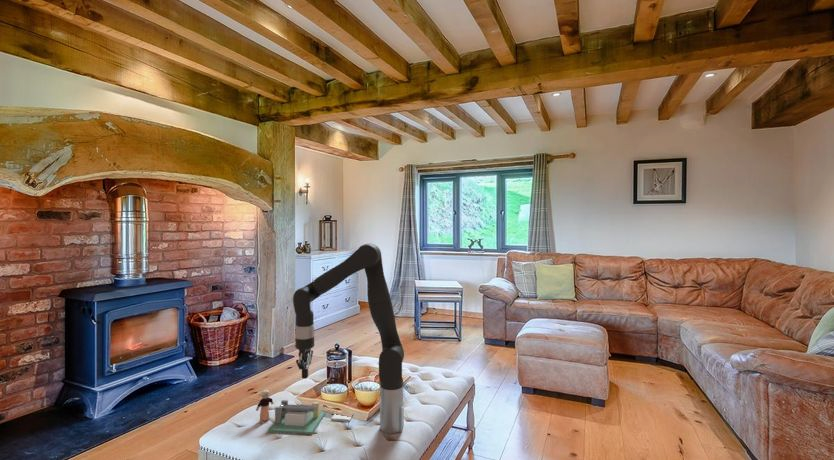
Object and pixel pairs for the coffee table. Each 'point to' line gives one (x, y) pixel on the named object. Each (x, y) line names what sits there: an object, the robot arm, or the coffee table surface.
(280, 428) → the board
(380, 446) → the coffee table surface
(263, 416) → the grandmother figurine
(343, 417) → the external hard drive
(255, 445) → the coffee table surface
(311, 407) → the gray bar
